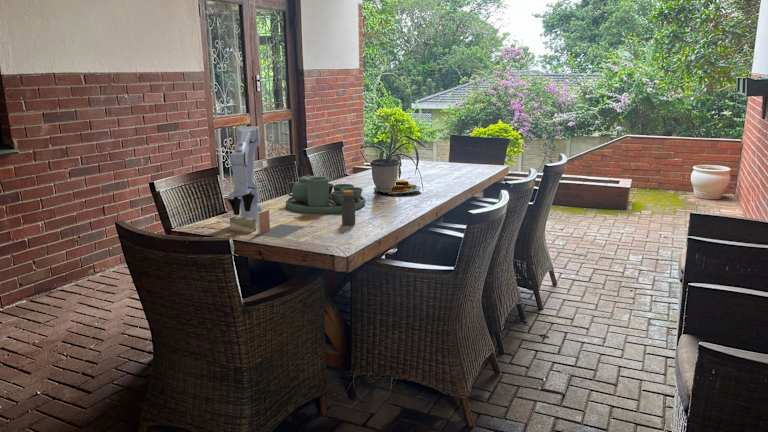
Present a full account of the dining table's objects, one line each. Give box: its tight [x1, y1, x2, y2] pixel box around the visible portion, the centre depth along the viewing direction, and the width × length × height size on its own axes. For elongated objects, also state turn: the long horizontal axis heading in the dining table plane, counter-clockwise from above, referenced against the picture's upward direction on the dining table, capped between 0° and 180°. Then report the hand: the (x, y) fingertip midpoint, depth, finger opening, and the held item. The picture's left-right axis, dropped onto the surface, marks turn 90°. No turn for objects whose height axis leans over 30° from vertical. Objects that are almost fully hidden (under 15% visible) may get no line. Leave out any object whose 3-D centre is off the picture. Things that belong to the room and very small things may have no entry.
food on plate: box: [382, 179, 422, 196], centre depth 341 cm, size 25×25×7 cm
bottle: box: [341, 190, 356, 227], centre depth 266 cm, size 6×6×15 cm
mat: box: [254, 223, 306, 239], centre depth 254 cm, size 20×13×1 cm, turn 157°
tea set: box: [285, 174, 366, 215], centre depth 306 cm, size 40×40×16 cm
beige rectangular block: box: [229, 215, 257, 233], centre depth 255 cm, size 3×11×6 cm, turn 67°
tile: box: [256, 209, 271, 234], centre depth 251 cm, size 7×1×9 cm, turn 157°
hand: (242, 213), depth 254 cm, fingers open, 7 cm apart
